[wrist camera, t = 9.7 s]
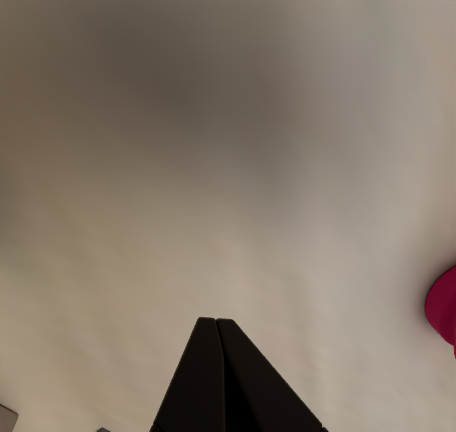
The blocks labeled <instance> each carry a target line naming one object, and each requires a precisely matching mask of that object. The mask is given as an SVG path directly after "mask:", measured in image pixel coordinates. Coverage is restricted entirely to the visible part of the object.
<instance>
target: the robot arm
mask: <svg viewBox="0 0 456 432" xmlns="http://www.w3.org/2000/svg"><path fill="white" fill-rule="evenodd" d="M149 432H329V431H328V430H327V429H326V428H325V427H322V423H321V422H320V421H319V420H318V419H317V418H316V416H315V415H314V414H313V413H312V412H311V410H310V409H309V408H308V407H307V406H306V405H305V403H304V402H303V401H302V400H301V399H300V398H299V396H298V395H297V394H296V393H295V392H294V391H293V389H292V388H291V387H290V386H289V385H288V383H287V382H286V381H285V380H284V379H283V378H282V376H281V375H280V374H279V373H278V372H277V371H276V369H275V368H274V367H273V366H272V365H271V364H270V362H269V361H268V360H267V359H266V358H265V356H264V355H263V354H262V353H261V352H260V351H259V349H258V348H257V347H256V346H255V345H254V344H253V342H252V341H251V340H250V339H249V338H248V337H247V335H246V334H245V333H244V332H243V331H242V329H241V328H240V327H239V326H238V325H237V324H236V322H235V321H234V320H232V319H223V318H218V319H216V320H215V319H214V318H209V317H199V318H198V319H197V322H196V324H195V326H194V329H193V331H192V333H191V336H190V338H189V340H188V343H187V345H186V348H185V350H184V352H183V355H182V357H181V359H180V362H179V364H178V366H177V369H176V371H175V373H174V376H173V378H172V380H171V383H170V385H169V387H168V390H167V392H166V394H165V397H164V399H163V401H162V404H161V406H160V408H159V411H158V413H157V415H156V418H155V420H154V422H153V425H152V427H151V429H150V431H149Z"/></svg>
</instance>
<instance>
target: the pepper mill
mask: <svg viewBox="0 0 456 432" xmlns="http://www.w3.org/2000/svg"><path fill="white" fill-rule="evenodd" d="M426 316H427V319H428V321H429V323H430V324H431V325H432V326H433V327H434V328H435V330H436V331H437V332H438V333H439V334H440V335H441V336H442V337H443V338H444V340H445V341H447V342H448V343H449V344H451V345H453V346H454V355H455V358H456V266H455V267H454V268H452V269H451V270H449V271H448V272H446V273H445V274H444V275H443V276H442V277H441V278H440V279H439V280H438V281H437V282H436V283H435V284H434V286H433V288H432V289H431V291H430V293H429V294H428V298H427V301H426Z"/></svg>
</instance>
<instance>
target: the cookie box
mask: <svg viewBox="0 0 456 432" xmlns="http://www.w3.org/2000/svg"><path fill="white" fill-rule="evenodd" d="M17 419H18V415H17V414H15V413H13V412H11V411H10V410H8V409H6V408H4V407H2V406H0V432H12V431H13V429H14V426H15V424H16V422H17Z"/></svg>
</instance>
